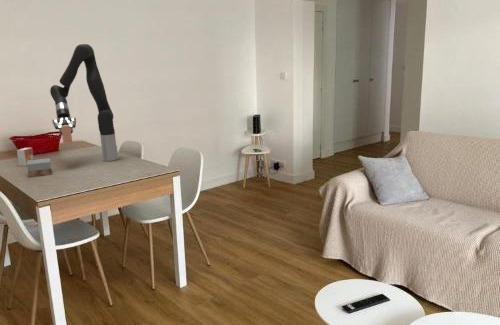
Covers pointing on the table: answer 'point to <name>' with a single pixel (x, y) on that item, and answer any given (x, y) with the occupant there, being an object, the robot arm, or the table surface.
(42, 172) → the walnut slab
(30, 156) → the small box
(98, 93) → the robot arm
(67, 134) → the terracotta block
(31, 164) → the slate-grey slab
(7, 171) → the table surface
